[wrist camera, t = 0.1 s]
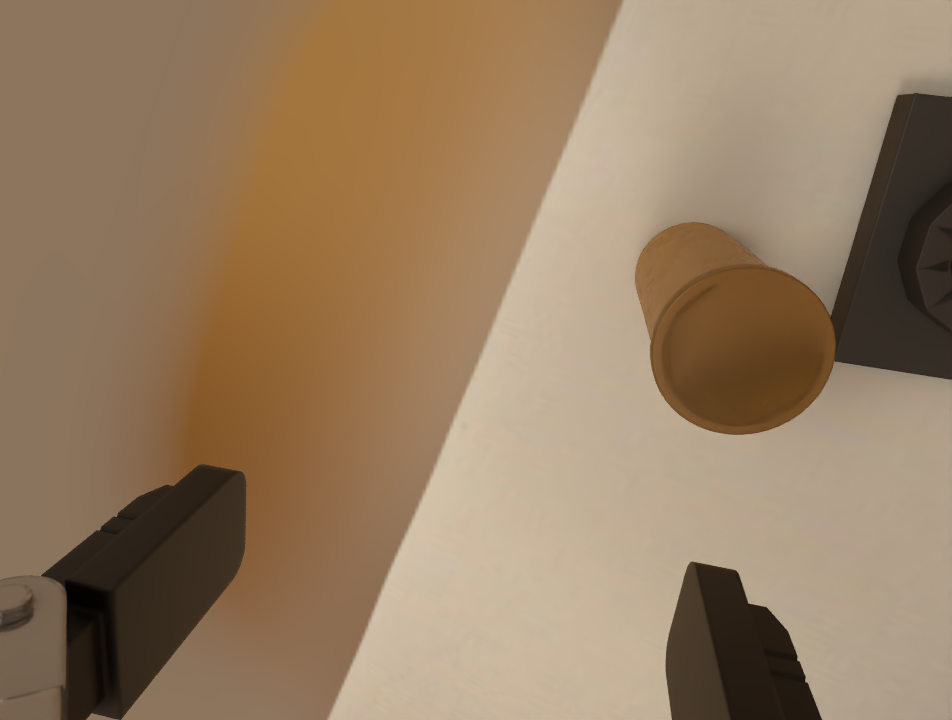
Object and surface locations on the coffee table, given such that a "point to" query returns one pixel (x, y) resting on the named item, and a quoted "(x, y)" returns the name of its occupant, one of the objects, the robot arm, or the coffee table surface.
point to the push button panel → (903, 250)
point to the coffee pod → (730, 332)
